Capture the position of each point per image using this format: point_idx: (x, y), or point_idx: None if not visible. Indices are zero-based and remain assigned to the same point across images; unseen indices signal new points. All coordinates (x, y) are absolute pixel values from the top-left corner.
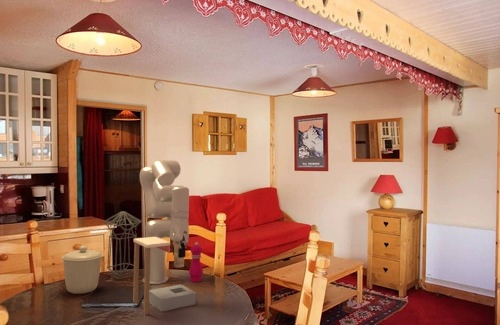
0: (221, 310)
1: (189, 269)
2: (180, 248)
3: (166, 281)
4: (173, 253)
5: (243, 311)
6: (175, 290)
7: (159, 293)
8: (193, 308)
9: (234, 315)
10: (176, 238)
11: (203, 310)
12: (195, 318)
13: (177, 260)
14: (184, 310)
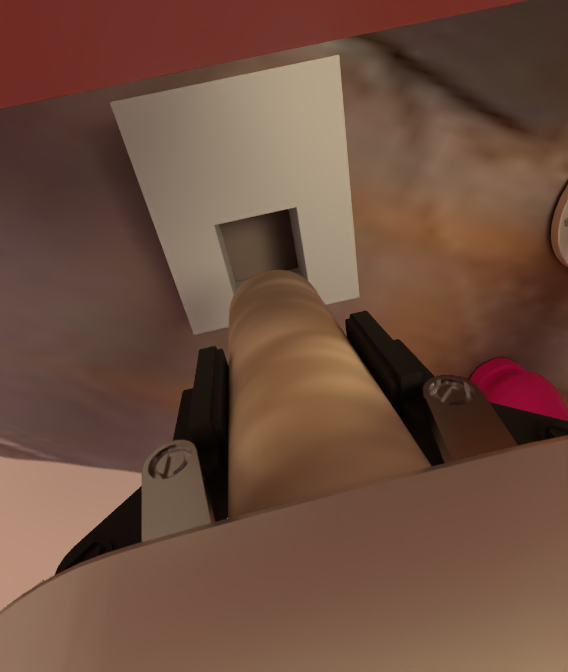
0: (97, 385)
1: (546, 384)
2: (153, 452)
3: (558, 258)
4: (362, 321)
5: (73, 448)
6: (301, 247)
7: (241, 123)
8: (146, 289)
9: (32, 413)
10: (124, 655)
11: (110, 322)
12: (7, 265)
13: (237, 320)
14: (127, 242)
